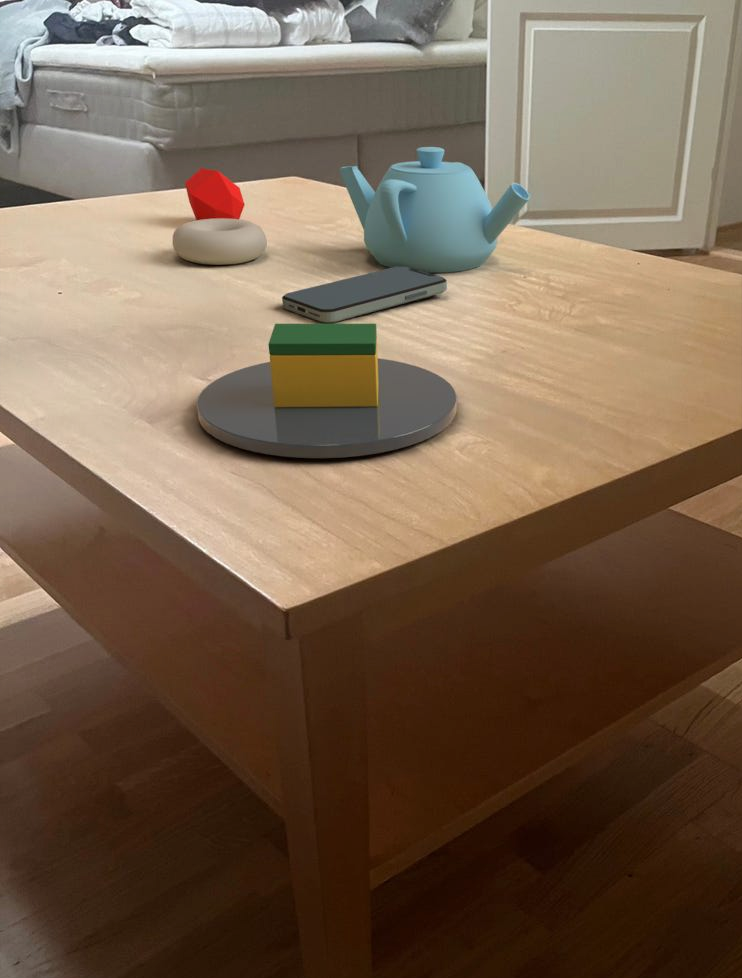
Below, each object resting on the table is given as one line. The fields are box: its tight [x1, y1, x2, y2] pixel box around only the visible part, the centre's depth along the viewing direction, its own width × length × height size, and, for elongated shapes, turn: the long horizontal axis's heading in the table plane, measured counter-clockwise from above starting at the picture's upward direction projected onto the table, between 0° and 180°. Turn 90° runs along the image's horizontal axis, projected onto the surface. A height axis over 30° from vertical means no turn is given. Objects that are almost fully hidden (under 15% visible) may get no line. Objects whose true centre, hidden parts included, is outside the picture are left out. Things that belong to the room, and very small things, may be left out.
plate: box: [196, 357, 458, 459], centre depth 71 cm, size 18×18×1 cm
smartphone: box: [281, 267, 448, 324], centre depth 95 cm, size 8×2×15 cm
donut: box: [172, 218, 268, 266], centre depth 108 cm, size 10×4×10 cm
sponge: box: [267, 323, 378, 407], centre depth 69 cm, size 7×5×4 cm, turn 94°
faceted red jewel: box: [184, 168, 246, 221], centre depth 123 cm, size 7×7×8 cm
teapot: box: [338, 146, 531, 274], centre depth 107 cm, size 15×17×11 cm
